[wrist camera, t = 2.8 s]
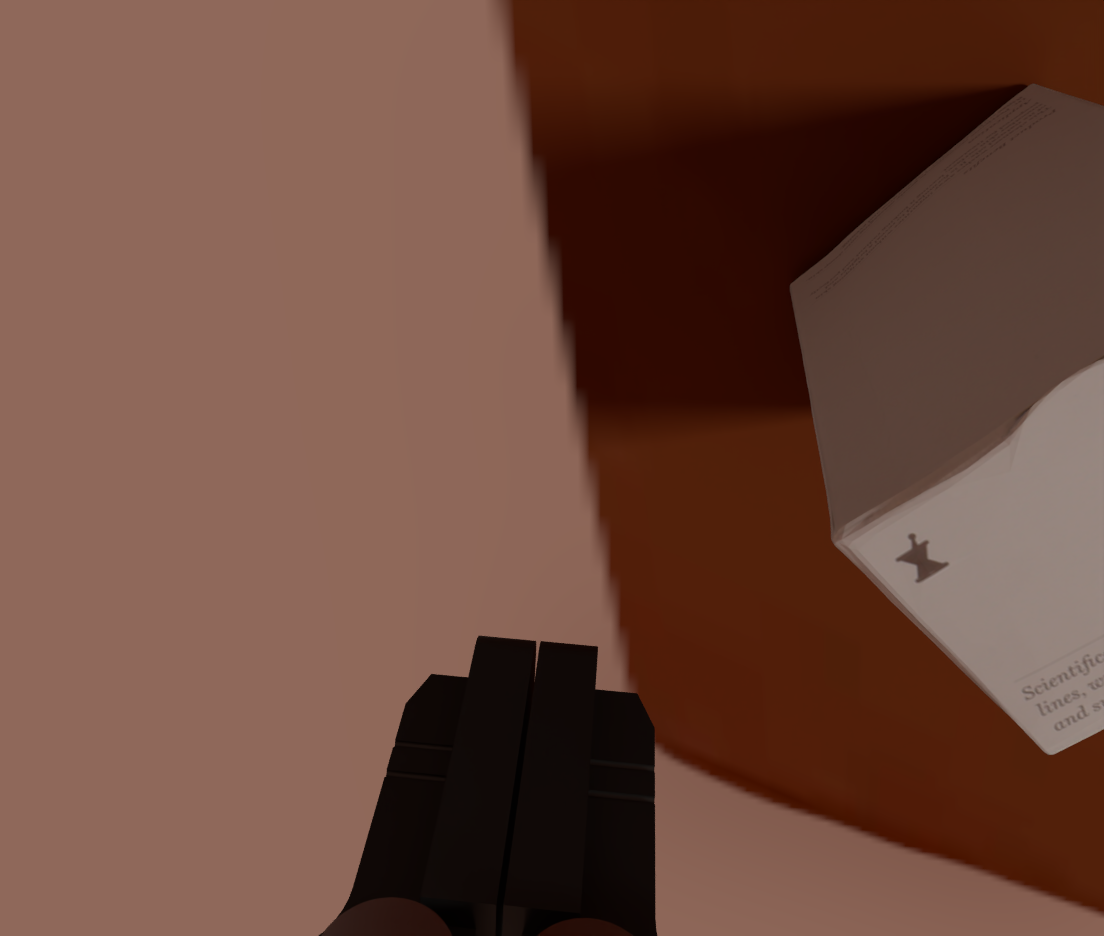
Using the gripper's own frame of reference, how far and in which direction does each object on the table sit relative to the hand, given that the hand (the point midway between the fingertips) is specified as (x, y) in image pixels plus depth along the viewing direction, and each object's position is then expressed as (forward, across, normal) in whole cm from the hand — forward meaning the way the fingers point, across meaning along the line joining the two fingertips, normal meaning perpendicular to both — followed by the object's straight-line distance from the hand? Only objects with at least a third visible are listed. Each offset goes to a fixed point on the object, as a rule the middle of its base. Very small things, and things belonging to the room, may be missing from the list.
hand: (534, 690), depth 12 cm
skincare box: (+18, -10, 0) cm, 21 cm away
